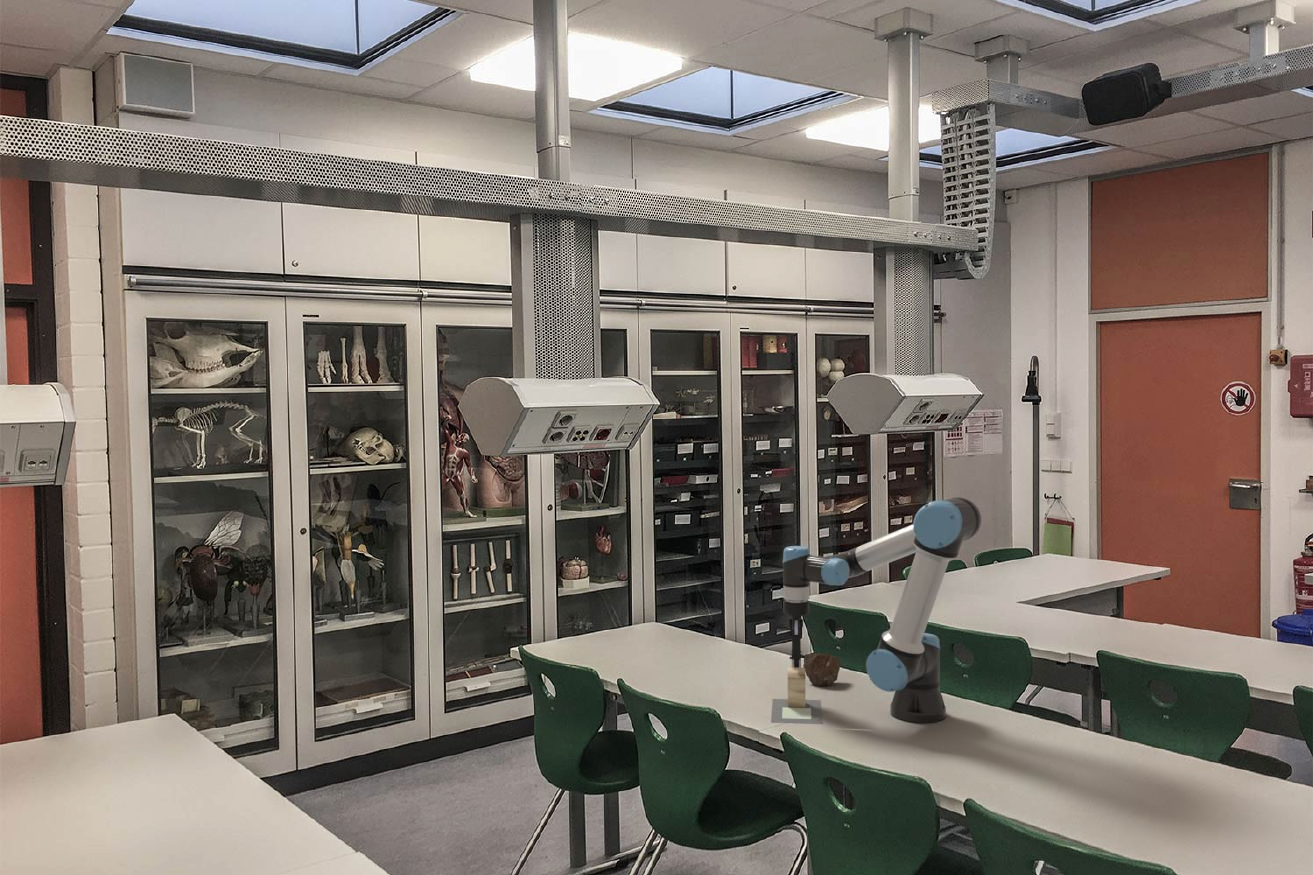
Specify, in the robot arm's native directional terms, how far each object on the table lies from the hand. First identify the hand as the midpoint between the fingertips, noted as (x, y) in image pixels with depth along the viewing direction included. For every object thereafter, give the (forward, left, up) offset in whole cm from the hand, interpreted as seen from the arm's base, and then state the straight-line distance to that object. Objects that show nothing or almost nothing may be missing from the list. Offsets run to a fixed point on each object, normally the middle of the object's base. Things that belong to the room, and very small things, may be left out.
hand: (796, 680), depth 301 cm
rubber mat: (-6, +4, -7) cm, 10 cm away
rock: (+14, -18, -7) cm, 24 cm away
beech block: (-1, +1, -6) cm, 6 cm away
